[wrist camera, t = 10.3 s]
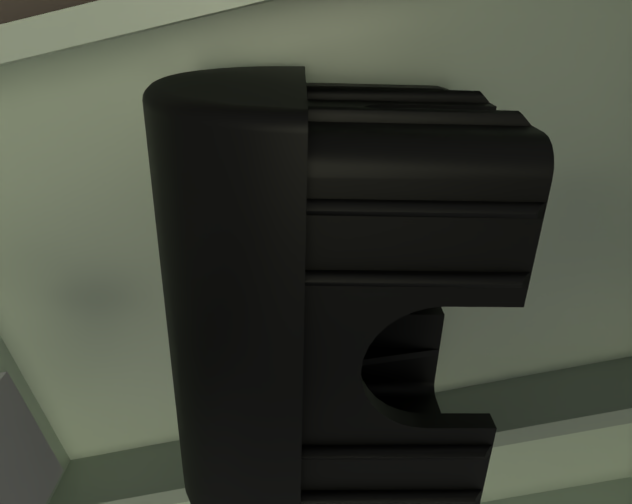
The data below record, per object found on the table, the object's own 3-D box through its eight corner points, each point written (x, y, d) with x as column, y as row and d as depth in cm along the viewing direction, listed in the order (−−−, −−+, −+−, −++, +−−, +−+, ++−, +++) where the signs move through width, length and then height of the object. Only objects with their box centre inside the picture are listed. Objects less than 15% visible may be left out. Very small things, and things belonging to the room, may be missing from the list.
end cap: (183, 59, 14) (88, 108, 7) (460, 65, 14) (588, 118, 8) (207, 376, 18) (159, 572, 12) (418, 377, 18) (479, 570, 12)
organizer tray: (699, -130, 13) (916, -201, 8) (652, 465, 21) (748, 591, 17) (-145, 75, 14) (-352, 110, 10) (125, 555, 23) (81, 694, 18)
